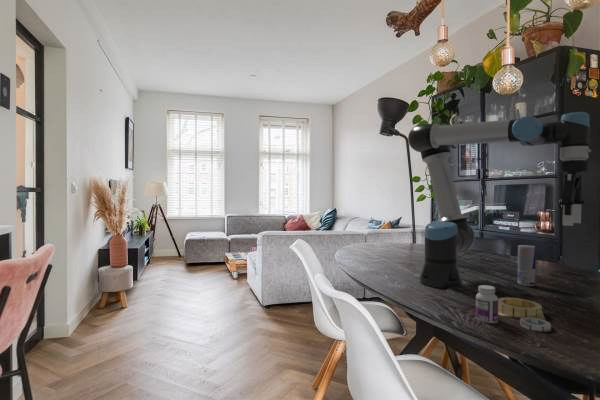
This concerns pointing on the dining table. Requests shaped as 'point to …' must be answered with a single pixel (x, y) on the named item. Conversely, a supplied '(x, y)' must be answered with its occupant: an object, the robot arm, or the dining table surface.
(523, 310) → the brass collar
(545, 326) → the grey collar
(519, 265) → the beverage can
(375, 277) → the dining table surface
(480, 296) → the pill bottle
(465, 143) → the robot arm
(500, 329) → the dining table surface
